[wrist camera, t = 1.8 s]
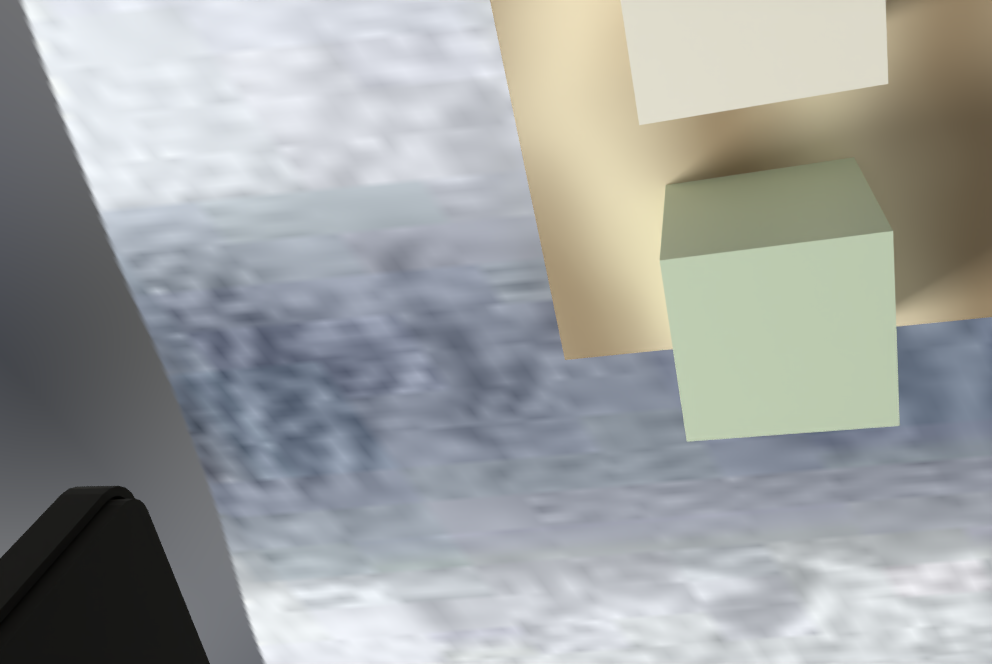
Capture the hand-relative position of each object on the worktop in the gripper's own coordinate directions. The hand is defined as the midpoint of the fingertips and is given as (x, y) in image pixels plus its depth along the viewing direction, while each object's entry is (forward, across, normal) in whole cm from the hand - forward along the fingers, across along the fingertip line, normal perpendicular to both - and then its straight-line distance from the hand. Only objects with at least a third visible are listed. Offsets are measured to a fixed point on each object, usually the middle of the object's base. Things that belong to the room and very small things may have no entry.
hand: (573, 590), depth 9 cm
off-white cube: (+21, -3, -4) cm, 21 cm away
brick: (+20, -3, +5) cm, 21 cm away
